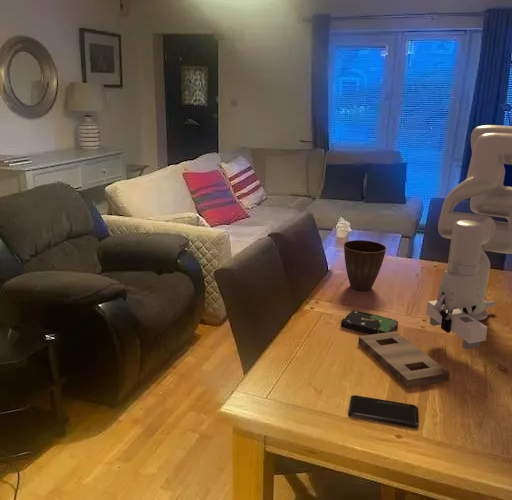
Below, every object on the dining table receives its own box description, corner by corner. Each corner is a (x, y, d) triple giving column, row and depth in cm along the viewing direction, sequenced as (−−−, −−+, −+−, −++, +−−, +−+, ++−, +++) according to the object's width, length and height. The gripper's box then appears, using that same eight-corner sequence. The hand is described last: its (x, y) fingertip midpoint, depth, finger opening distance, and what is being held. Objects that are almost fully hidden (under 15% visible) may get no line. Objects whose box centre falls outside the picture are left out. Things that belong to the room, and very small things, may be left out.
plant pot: (387, 285, 191) (392, 244, 187) (373, 298, 179) (377, 254, 175) (350, 277, 199) (353, 237, 194) (334, 289, 187) (337, 247, 182)
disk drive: (340, 329, 157) (388, 340, 150) (340, 320, 156) (388, 332, 149) (352, 317, 165) (398, 327, 158) (352, 309, 165) (398, 319, 157)
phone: (419, 425, 110) (347, 413, 113) (418, 430, 110) (347, 417, 114) (418, 405, 117) (351, 394, 121) (417, 409, 117) (351, 398, 121)
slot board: (358, 343, 147) (358, 336, 146) (394, 338, 150) (395, 331, 150) (407, 387, 125) (408, 379, 124) (448, 380, 129) (449, 372, 128)
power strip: (440, 319, 151) (442, 298, 149) (483, 349, 135) (487, 326, 133) (425, 321, 149) (428, 300, 147) (468, 352, 133) (471, 329, 131)
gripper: (479, 259, 141) (470, 318, 147) (426, 265, 136) (419, 327, 142) (499, 268, 135) (489, 330, 141) (444, 276, 130) (436, 340, 136)
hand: (454, 328), depth 141 cm, fingers closed on power strip, 5 cm apart
